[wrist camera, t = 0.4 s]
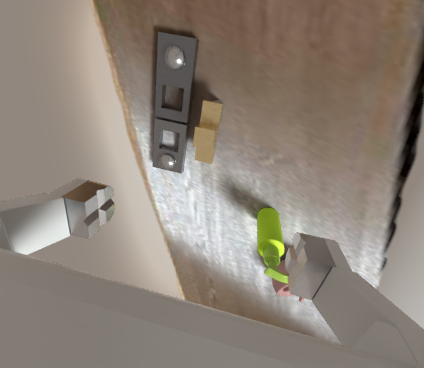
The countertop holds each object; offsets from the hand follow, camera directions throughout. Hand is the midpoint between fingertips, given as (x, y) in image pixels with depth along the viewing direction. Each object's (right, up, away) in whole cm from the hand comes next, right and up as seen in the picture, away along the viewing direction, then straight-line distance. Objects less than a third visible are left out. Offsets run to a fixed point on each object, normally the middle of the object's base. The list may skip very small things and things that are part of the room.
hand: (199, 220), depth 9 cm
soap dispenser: (+17, -8, +50) cm, 54 cm away
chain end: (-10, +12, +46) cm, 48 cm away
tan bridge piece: (+1, +15, +42) cm, 45 cm away
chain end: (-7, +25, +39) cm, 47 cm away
